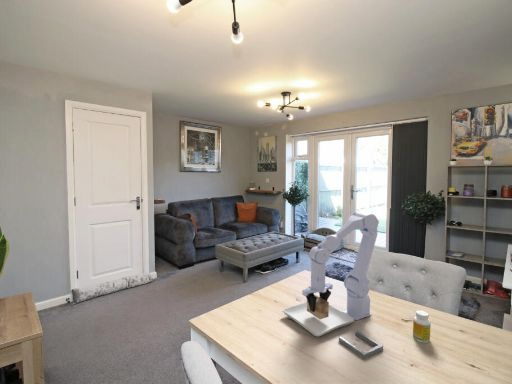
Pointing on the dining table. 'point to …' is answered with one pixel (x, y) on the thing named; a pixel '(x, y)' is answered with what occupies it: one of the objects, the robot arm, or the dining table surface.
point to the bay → (362, 354)
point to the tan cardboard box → (320, 308)
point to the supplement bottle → (421, 326)
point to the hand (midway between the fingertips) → (317, 309)
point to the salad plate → (315, 324)
